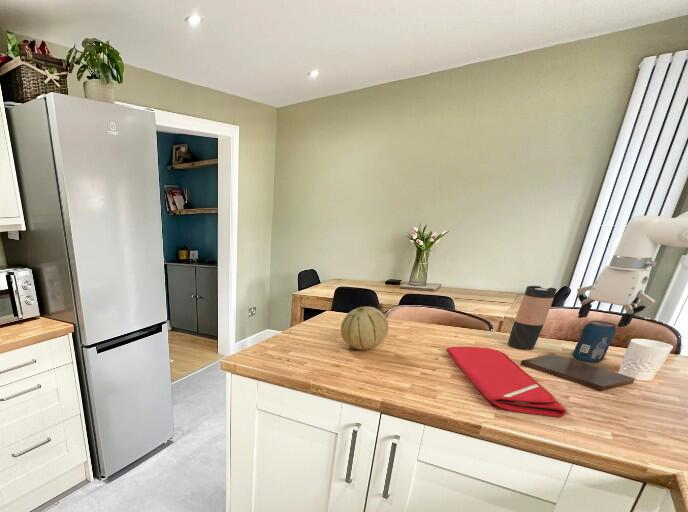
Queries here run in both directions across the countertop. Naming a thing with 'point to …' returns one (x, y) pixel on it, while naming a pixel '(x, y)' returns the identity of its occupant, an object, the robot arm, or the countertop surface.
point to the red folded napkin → (504, 381)
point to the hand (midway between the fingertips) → (601, 321)
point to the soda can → (594, 342)
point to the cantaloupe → (364, 328)
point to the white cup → (644, 358)
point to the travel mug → (531, 317)
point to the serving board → (578, 372)
